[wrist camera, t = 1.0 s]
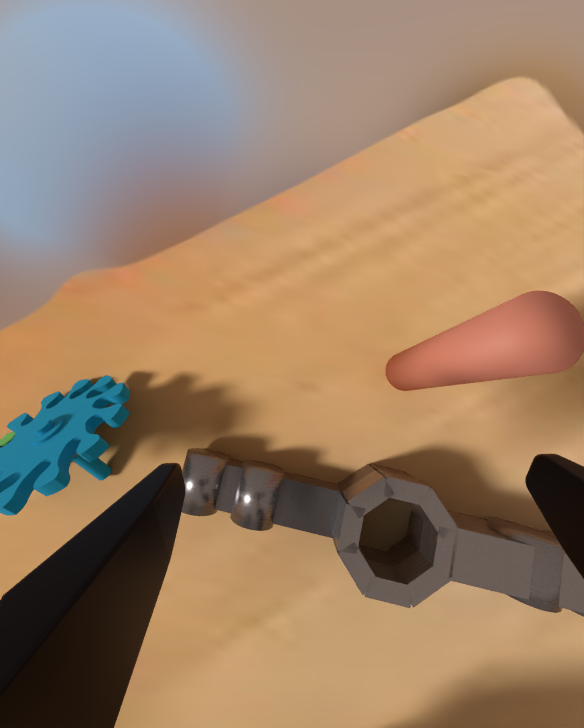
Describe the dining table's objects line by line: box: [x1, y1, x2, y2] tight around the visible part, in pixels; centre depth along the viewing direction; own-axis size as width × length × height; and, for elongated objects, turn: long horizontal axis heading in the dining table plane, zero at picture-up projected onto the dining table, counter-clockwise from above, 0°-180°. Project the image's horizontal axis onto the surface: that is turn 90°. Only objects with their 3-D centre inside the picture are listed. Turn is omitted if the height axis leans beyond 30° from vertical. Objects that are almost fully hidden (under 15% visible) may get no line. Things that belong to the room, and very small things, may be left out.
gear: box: [0, 375, 130, 515], centre depth 20 cm, size 11×6×10 cm
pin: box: [386, 291, 584, 391], centre depth 17 cm, size 3×3×13 cm
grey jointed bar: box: [182, 448, 584, 616], centre depth 20 cm, size 7×30×4 cm, turn 77°
